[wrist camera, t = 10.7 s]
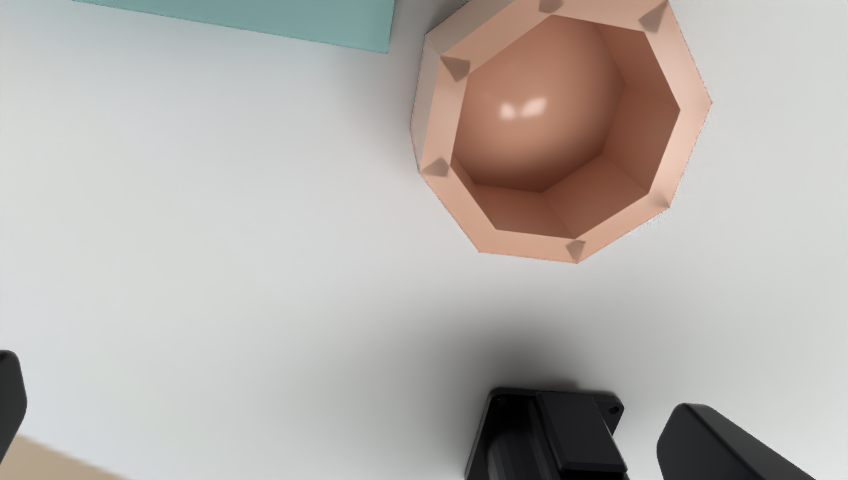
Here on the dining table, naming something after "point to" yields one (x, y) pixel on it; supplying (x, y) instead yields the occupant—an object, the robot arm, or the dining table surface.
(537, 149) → the pink octagonal bowl
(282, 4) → the board
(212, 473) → the dining table surface
